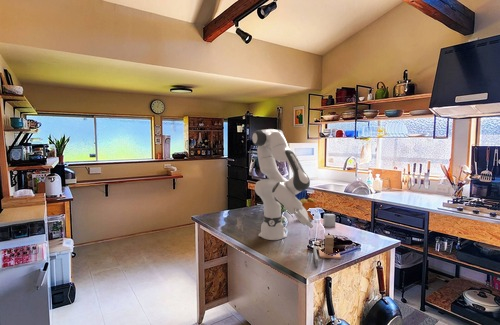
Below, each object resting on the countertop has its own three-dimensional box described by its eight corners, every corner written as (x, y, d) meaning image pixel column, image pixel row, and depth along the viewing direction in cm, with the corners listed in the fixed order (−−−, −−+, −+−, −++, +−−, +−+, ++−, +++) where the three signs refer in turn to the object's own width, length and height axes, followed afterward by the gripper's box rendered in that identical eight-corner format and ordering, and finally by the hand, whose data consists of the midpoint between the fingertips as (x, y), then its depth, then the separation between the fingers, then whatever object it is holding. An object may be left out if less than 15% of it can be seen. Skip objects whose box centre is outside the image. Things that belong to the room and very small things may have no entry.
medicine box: (333, 224, 211) (333, 213, 210) (335, 226, 207) (335, 215, 206) (323, 225, 211) (323, 213, 210) (324, 226, 206) (325, 215, 206)
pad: (318, 249, 164) (318, 247, 164) (337, 250, 163) (337, 248, 162) (319, 257, 153) (319, 255, 152) (340, 258, 151) (340, 257, 151)
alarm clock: (310, 217, 233) (311, 193, 231) (315, 218, 227) (315, 194, 225) (297, 219, 227) (297, 194, 225) (302, 220, 222) (302, 196, 220)
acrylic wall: (313, 252, 159) (313, 245, 159) (315, 252, 159) (315, 246, 158) (315, 266, 141) (315, 259, 141) (318, 267, 141) (318, 259, 141)
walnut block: (324, 250, 160) (325, 235, 159) (332, 250, 159) (332, 235, 158) (325, 253, 156) (325, 237, 155) (333, 253, 155) (333, 237, 154)
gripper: (299, 207, 147) (317, 226, 146) (298, 198, 167) (314, 215, 166) (290, 215, 148) (308, 234, 147) (290, 205, 168) (306, 222, 168)
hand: (311, 224), depth 157 cm, fingers open, 8 cm apart
